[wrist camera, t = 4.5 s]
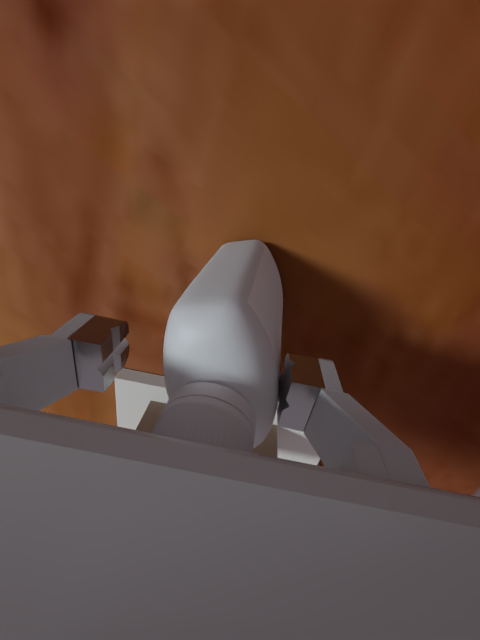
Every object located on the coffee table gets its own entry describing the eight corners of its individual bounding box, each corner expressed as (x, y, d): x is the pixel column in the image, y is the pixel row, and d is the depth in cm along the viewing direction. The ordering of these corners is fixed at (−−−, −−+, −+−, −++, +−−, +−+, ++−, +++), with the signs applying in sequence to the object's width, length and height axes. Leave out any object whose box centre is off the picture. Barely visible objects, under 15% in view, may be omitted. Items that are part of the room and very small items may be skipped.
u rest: (122, 367, 19) (76, 430, 14) (334, 409, 19) (353, 484, 14) (127, 492, 25) (97, 560, 21) (283, 523, 25) (286, 598, 21)
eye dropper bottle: (312, 259, 14) (383, 545, 3) (267, 347, 17) (230, 653, 6) (229, 224, 14) (36, 414, 3) (196, 318, 16) (37, 585, 6)
